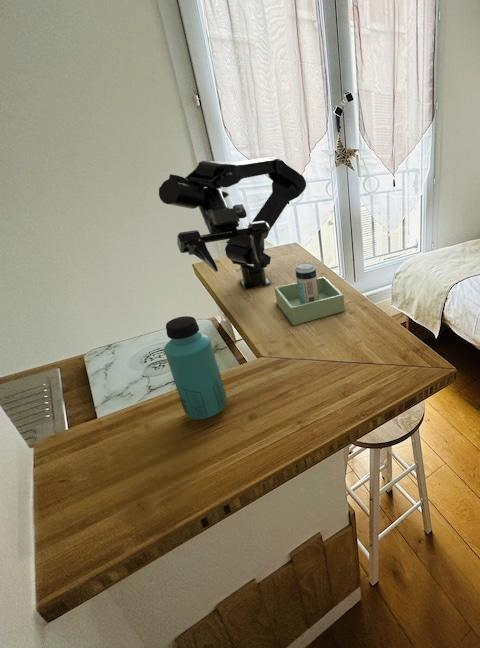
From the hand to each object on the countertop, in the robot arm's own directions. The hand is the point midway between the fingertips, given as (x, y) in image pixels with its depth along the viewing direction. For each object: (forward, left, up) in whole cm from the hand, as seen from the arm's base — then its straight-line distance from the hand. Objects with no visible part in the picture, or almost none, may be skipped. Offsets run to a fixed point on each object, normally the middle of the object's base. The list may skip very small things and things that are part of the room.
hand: (238, 266), depth 96 cm
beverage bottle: (+33, -14, -14) cm, 38 cm away
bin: (+5, +14, -14) cm, 20 cm away
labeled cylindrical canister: (+4, +14, -13) cm, 20 cm away
